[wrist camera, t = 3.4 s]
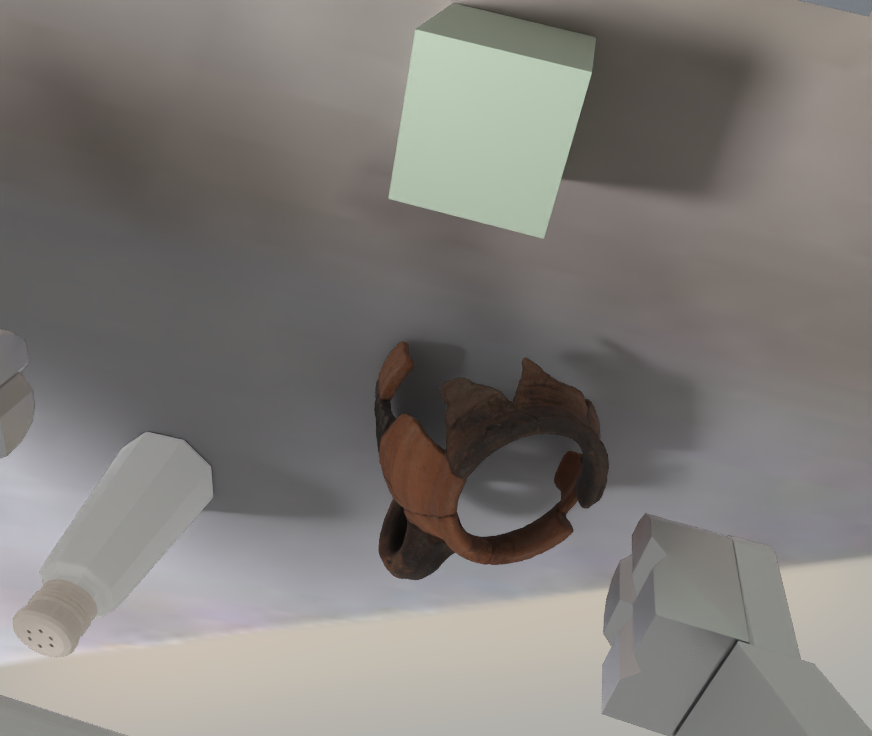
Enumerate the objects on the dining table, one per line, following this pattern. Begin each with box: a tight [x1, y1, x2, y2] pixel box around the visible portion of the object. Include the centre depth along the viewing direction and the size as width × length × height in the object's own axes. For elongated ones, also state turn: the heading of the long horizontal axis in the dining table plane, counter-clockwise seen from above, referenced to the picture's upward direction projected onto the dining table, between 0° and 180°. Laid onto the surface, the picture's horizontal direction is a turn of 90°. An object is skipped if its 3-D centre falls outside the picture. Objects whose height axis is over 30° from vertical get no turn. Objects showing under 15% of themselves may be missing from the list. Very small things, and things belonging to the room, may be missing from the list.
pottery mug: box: [375, 342, 609, 580], centre depth 33 cm, size 12×9×8 cm
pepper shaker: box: [13, 432, 213, 657], centre depth 36 cm, size 5×5×11 cm
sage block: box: [388, 3, 596, 239], centre depth 25 cm, size 5×5×6 cm
